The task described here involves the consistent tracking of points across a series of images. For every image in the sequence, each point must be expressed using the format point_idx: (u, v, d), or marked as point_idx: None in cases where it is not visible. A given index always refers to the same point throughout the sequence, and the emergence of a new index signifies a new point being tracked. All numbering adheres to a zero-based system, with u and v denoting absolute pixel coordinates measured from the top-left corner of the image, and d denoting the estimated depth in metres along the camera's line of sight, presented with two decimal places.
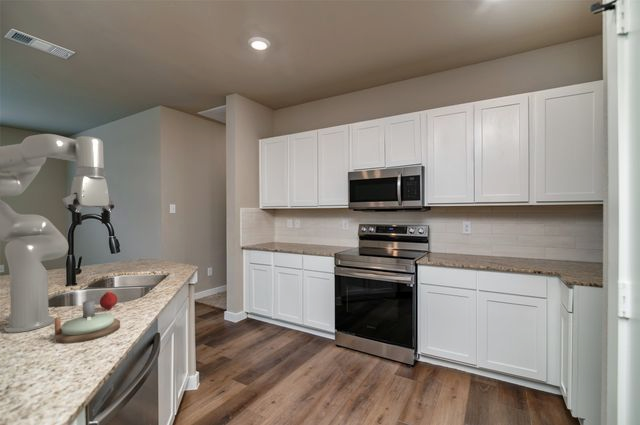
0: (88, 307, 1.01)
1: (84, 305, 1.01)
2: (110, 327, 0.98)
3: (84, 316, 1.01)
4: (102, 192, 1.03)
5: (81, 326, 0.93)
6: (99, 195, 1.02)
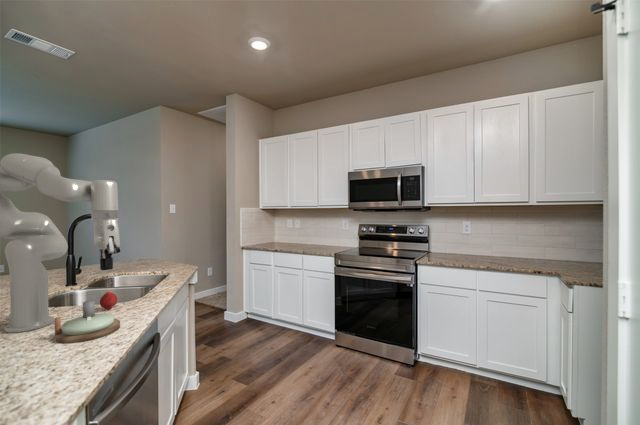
0: (88, 307, 1.01)
1: (84, 305, 1.01)
2: (110, 327, 0.98)
3: (84, 316, 1.01)
4: (99, 235, 0.99)
5: (81, 326, 0.93)
6: (98, 238, 1.00)
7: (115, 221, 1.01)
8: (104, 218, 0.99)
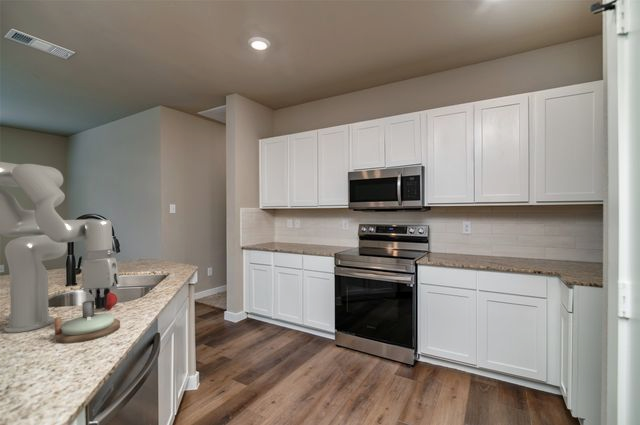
0: (88, 307, 1.01)
1: (84, 305, 1.01)
2: (110, 327, 0.98)
3: (84, 316, 1.01)
4: (101, 274, 1.01)
5: (81, 326, 0.93)
6: (98, 277, 1.01)
7: (115, 259, 1.05)
8: (107, 257, 1.02)
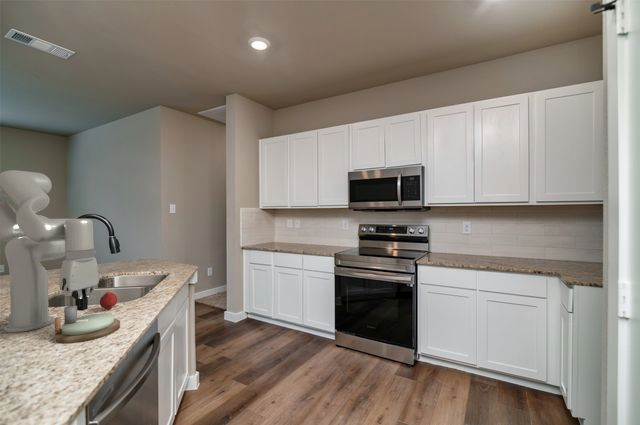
0: (76, 310, 0.97)
1: (72, 310, 0.96)
2: (110, 327, 0.98)
3: (72, 321, 0.96)
4: (92, 272, 1.02)
5: (104, 320, 0.98)
6: (89, 276, 1.01)
7: None
8: None
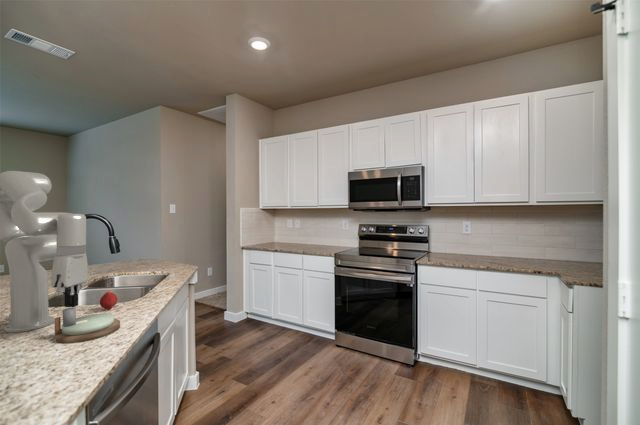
0: (75, 312, 0.96)
1: (74, 311, 0.95)
2: (110, 327, 0.98)
3: (74, 323, 0.95)
4: (83, 268, 1.00)
5: (108, 317, 1.01)
6: (81, 272, 0.99)
7: None
8: None
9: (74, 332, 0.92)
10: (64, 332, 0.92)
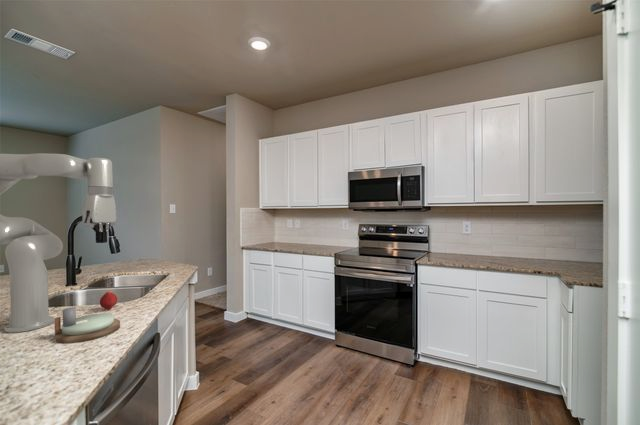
0: (75, 312, 0.96)
1: (74, 311, 0.95)
2: (110, 327, 0.98)
3: (74, 323, 0.95)
4: (111, 209, 1.10)
5: (108, 317, 1.01)
6: (109, 212, 1.09)
7: None
8: None
9: (74, 332, 0.92)
10: (64, 332, 0.92)
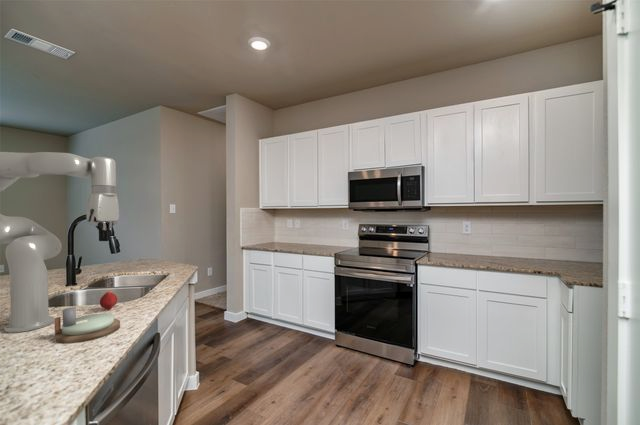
0: (75, 312, 0.96)
1: (74, 311, 0.95)
2: (110, 327, 0.98)
3: (74, 323, 0.95)
4: (114, 208, 1.11)
5: (108, 317, 1.01)
6: (112, 211, 1.10)
7: None
8: None
9: (74, 332, 0.92)
10: (64, 332, 0.92)
